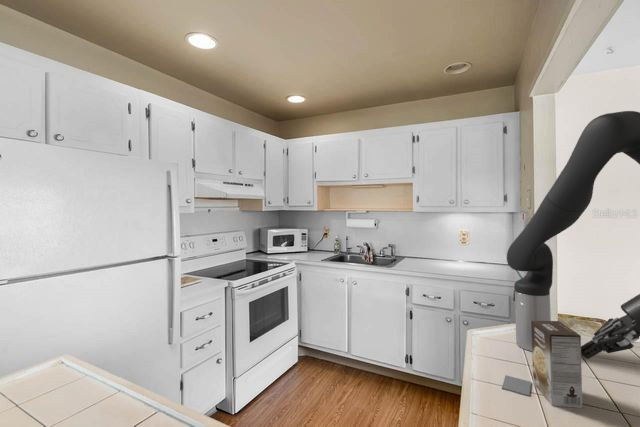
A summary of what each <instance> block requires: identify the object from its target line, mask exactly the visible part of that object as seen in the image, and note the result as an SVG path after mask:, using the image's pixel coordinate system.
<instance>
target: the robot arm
mask: <svg viewBox="0 0 640 427" xmlns="http://www.w3.org/2000/svg"><path fill="white" fill-rule="evenodd" d="M621 153H623V154H624V155H626V156H627V157H629V158H631V159H632V160H633V161H635V162H637V164H638V165H640V111H634V110H624V111H623V110H622V111H617V112H616V111H615V112H609V113H604V114H601V115H599V116H597V117H594V118H592V120H591V121H589V122H588V123H587V125H586V126H585V127H584V129H583V130H582V132H581V134H580V136H579V137H578V139H577V142H576V144H575V145H574V148H573V150H572V152H571V155H570V157H569V159H568V161H567V162H566V164H565V166H564V168H563V169H562V170H561V172H560V174H559V175H558V177H557V178H556V179H555V181H554V183H553V185H552V186H551V187H550V189H549V190H548V192H547V193H546V195H545V197H544V198H543V199H542V201H541V202H540V204H539V207H537V210H536V211H535V213H534V214H533V216H532V217H531V218H530V220H529V221H528V223H527V224H526V226H525V227H524V228H523V230H522V231H521V232H520V234H518V236H516V237H515V239H514V240H513V242H511V244H510V246H509V247H508V249H507V253H506V262H507V265H508V266H509V267H510V268H511V269H512V270H514V271H516V272H517V271H518V272H526V275H524V276H523V277H521V278H520V279H519V280H516V281H515V282H514V284H513V286H514V287H513V288H514V306H515V308H514V309H515V310H514V312H515V314H514V315H515V341H516V342H515V344H516V345H517V346H518V347H519V348H521V349H524V350H527V351H530V352H532V330H531V321H552V320H551V319H552V317H551V314H552V313H551V312H552V311H551V293H550V292H551V288H552V285H553V276H554V274H553V273H554V257H553V252H552V249H551V248H550V246H549V245H548V244H547V243H546V242H548V241H549V240H551V239H552V238H554V237H555V236H557V235H559V234H561V233H562V232H563V231H565V230H567V229H569V228H570V227H572V225H574V224H575V223H576V222H577V221H579V220H578V219H580V218H581V216H582V215H583V213H584V212H585V211H586V210H587V208H588V207H589V205H590V204H591V201H592V198H593V194H594V185H595V181H596V179H597V177H598V175H599V174H600V173H601V171H602V170H603V169H604V167H605V166H606V165H607V164H608V163H609V161H610V160H611V159H612V158H613V157H614V156H615V155H617V154H621ZM620 310H621V311H623V312H624V314H625V315H623V316H621V317H616V318H612V317H611V318H609V319H608V320H607V321H606V322H605V323H603V325H601V326H600V328H598V329H597V331H595V332H594V333H593V336H592V338H591V340H590V341H587V342H586V343H584V344H581V357H583V358H584V359H585V360H589V359H591V358H593V357H595V356H596V355H598V354H599V353H601V352H604V353H605V352H606V353H607V354H613V353H617V352H621V351H626V350H630V349H633V348H634V346H635V344H633V343H634V342H636V341H638V340H639V339H640V293H639V294H637V295H635V296H634V297H631V299H629V300H627V301H626V302H624V303H623V304H621V305H620Z"/></svg>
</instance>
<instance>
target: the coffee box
mask: <svg viewBox="0 0 640 427" xmlns="http://www.w3.org/2000/svg"><path fill="white" fill-rule="evenodd" d="M531 330H532V351H531V353H532V354H531V355H532V356H531V357H532V359H531V360H532V382H533V383H532V385H534V387H535V388H537V390H538V392H540V393H541V395H542V396H543V397H544V398H545V399H546V401H547V402H549V404H550V405H551V406H553V407H565V408H578V409H582V408H583V387H582V386H583V382H582V381H583V378H582V377H583V376H582V370H583V369H582V355H581V346H582V341H581V340H582V337H581V336H582V335H580V334H579V333H577V332H576V331H574V330H573V329H572V328H570V327H568V326H567V325H565V324H564V323H563V322H561V321H559V320H551V321H531Z"/></svg>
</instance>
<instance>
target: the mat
mask: <svg viewBox="0 0 640 427" xmlns="http://www.w3.org/2000/svg"><path fill="white" fill-rule="evenodd" d="M504 376H505V377H504V378H503V382H502V387H501V390H505V391H508V392H512V393H515V394H519V395H523V396H527V397H530V395H531V387H532V381H531V380H525V379H522V378H520V377H519V378H518V377H514V376H509V375H507V374H505V375H504Z"/></svg>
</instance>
